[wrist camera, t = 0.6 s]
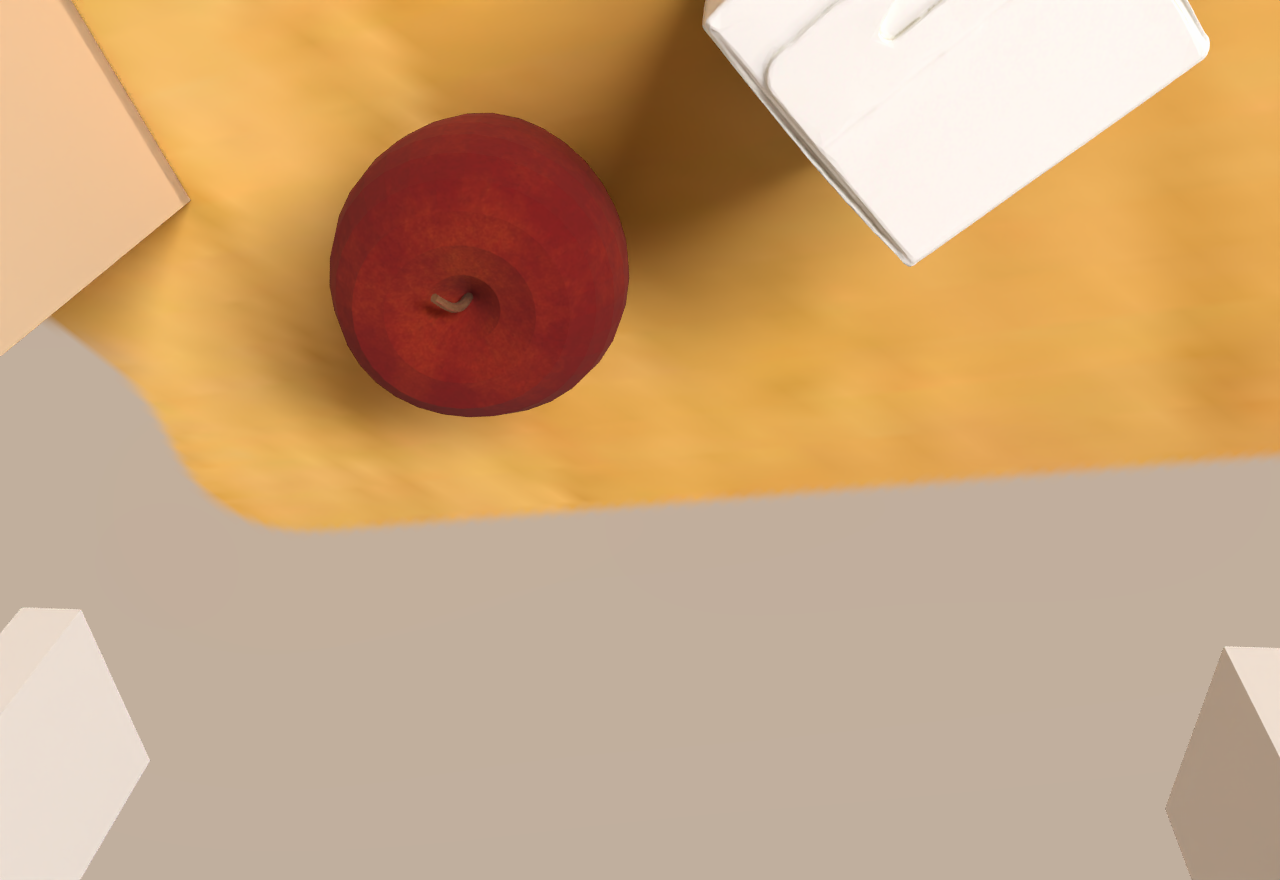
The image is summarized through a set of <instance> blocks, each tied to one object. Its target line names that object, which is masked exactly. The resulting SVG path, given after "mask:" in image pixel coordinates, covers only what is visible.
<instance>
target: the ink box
mask: <svg viewBox="0 0 1280 880" xmlns="http://www.w3.org/2000/svg"><path fill="white" fill-rule="evenodd" d="M702 27H703V29H704V30H705V31H706V33H707V34H708V35H709V36H710V37H711V39H712V40H713V41H714V42H715V43H716V45H717V46H718V47H719V49H720V50H721V51H722V52H723V54H724V55H725V56H726V58H727V59H728V60H729V62H730V63H731V64H732V65H733V67H734V68H735V69H736V70H737V72H738V73H739V74H740V75H741V77H742V78H743V79H744V80H745V82H746V83H747V84H748V86H749V87H750V88H751V89H752V91H753V92H754V93H755V94H756V95H757V97H758V98H759V99H760V100H761V101H762V103H763V104H764V105H765V106H766V108H767V109H768V110H769V111H770V113H771V114H772V115H773V116H774V118H775V119H776V120H777V121H778V123H779V124H780V125H781V126H782V127H783V129H784V130H785V131H786V132H787V134H788V135H789V136H790V137H791V138H792V140H793V141H794V142H795V143H796V144H797V146H798V147H799V148H800V149H801V150H802V152H803V153H804V154H805V155H806V157H807V158H808V159H809V160H810V161H811V162H812V164H813V165H814V166H815V167H816V168H817V170H818V171H819V172H820V173H821V174H822V175H823V177H824V178H825V179H826V180H827V181H828V182H829V183H830V184H831V185H832V186H833V188H834V189H835V190H836V191H837V192H838V193H839V195H840V196H841V197H842V198H843V199H844V200H845V202H846V203H847V204H848V205H849V206H850V207H851V208H852V209H853V210H854V211H855V212H856V213H857V214H858V215H859V216H860V218H861V219H862V220H863V221H864V222H865V223H866V224H867V225H868V226H869V227H870V228H871V229H872V231H873V232H874V233H875V234H876V235H877V236H878V237H879V238H880V239H881V240H882V241H883V242H884V243H885V244H886V245H887V246H888V247H889V248H890V249H891V250H892V251H893V252H894V253H895V254H896V255H897V256H898V257H899V258H900V259H901V261H902V262H903V263H904V264H905V265H907V266H910V267H911V266H913V265H915V264H916V263H917V262H919V261H920V260H922V259H923V258H925V257H926V256H927V255H929V254H930V253H932V252H933V251H935V250H936V249H937V248H939V247H940V246H942V245H943V244H944V243H946V242H947V241H949V240H950V239H951V238H953V237H954V236H956V235H957V234H958V233H960V232H961V231H963V230H964V229H965V228H967V227H968V226H970V225H971V224H972V223H974V222H975V221H977V220H978V219H980V218H981V217H982V216H984V215H985V214H987V213H988V212H989V211H991V210H992V209H994V208H995V207H996V206H998V205H999V204H1001V203H1002V202H1003V201H1005V200H1006V199H1008V198H1009V197H1010V196H1012V195H1013V194H1015V193H1016V192H1017V191H1019V190H1020V189H1022V188H1023V187H1024V186H1026V185H1027V184H1029V183H1030V182H1032V181H1033V180H1034V179H1036V178H1037V177H1039V176H1040V175H1042V174H1043V173H1044V172H1046V171H1047V170H1049V169H1050V168H1052V167H1053V166H1055V165H1056V164H1057V163H1059V162H1060V161H1062V160H1063V159H1064V158H1066V157H1067V156H1068V155H1070V154H1071V153H1073V152H1074V151H1075V150H1077V149H1078V148H1080V147H1081V146H1083V145H1084V144H1085V143H1087V142H1088V141H1090V140H1091V139H1093V138H1094V137H1095V136H1097V135H1098V134H1100V133H1101V132H1102V131H1104V130H1105V129H1106V128H1108V127H1109V126H1111V125H1112V124H1114V123H1115V122H1116V121H1118V120H1119V119H1121V118H1122V117H1123V116H1125V115H1126V114H1128V113H1129V112H1131V111H1132V110H1133V109H1135V108H1136V107H1138V106H1139V105H1140V104H1142V103H1143V102H1145V101H1146V100H1147V99H1149V98H1150V97H1152V96H1153V95H1154V94H1156V93H1157V92H1159V91H1160V90H1162V89H1163V88H1164V87H1166V86H1167V85H1168V84H1170V83H1171V82H1172V81H1174V80H1175V79H1176V78H1178V77H1179V76H1181V75H1182V74H1184V73H1185V72H1186V71H1188V70H1189V69H1190V68H1192V67H1193V66H1194V65H1196V64H1197V63H1199V62H1200V61H1202V60H1203V59H1204V58H1205V57H1206V55H1207V53H1208V51H1209V45H1210V42H1209V38H1208V36H1207V35H1206V33H1205V32H1204V30H1203V28H1202V26H1201V25H1200V23H1199V21H1198V19H1197V17H1196V15H1195V13H1194V11H1193V9H1192V7H1191V6H1190V4H1189V2H1188V0H705V6H704V15H703V25H702Z"/></svg>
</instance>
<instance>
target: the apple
mask: <svg viewBox="0 0 1280 880" xmlns="http://www.w3.org/2000/svg"><path fill="white" fill-rule="evenodd" d="M628 283H629V265H628V255H627V244H626V238H625V235H624V232H623V228H622V225H621V222H620V219H619V215H618V213H617V210H616V208H615V206H614V204H613V202H612V200H611V198H610V196H609V195H608V193H607V191H606V189H605V187H604V185H603V183H602V182H601V181H600V179H599V178H598V177H597V176H596V174H595V173H594V172H593V170H592V169H591V168H590V167H589V165H588V164H587V163H586V162H585V161H584V160H583V159H582V158H581V157H580V156H579V155H578V154H577V153H576V152H575V151H573V150H572V149H571V148H570V147H569V146H568V145H567V144H566V143H565V142H563V141H561V140H560V139H558V138H557V137H555V136H554V135H552V134H551V133H549V132H548V131H546V130H545V129H543V128H541V127H539V126H536V125H534V124H532V123H529V122H527V121H525V120H522V119H519V118H515V117H510V116H505V115H500V114H495V113H470V114H463V115H459V116H455V117H451V118H447V119H443V120H440V121H436V122H433V123H431V124H429V125H427V126H425V127H422V128H420V129H418V130H416V131H414V132H412V133H410V134H408V135H407V136H405V137H404V138H402V139H400V140H399V141H397V142H396V143H395V144H394V145H392V146H391V147H390V148H389V149H387V150H386V151H385V152H384V153H382V154H381V155H380V156H379V157H377V158H376V159H375V161H374V162H373V163H372V164H371V166H370V167H369V168H368V170H367V171H366V172H365V173H364V175H363V176H362V177H361V179H360V180H359V181H358V182H357V184H356V185H355V186H354V188H353V189H352V190H351V192H350V193H349V195H348V198H347V200H346V202H345V204H344V206H343V209H342V211H341V213H340V215H339V218H338V223H337V228H336V233H335V237H334V242H333V247H332V252H331V256H330V289H331V295H332V300H333V306H334V311H335V313H336V316H337V319H338V321H339V324H340V327H341V329H342V332H343V334H344V337H345V340H346V342H347V345H348V347H349V348H350V350H351V352H352V353H353V355H354V356H355V358H356V360H357V361H358V363H359V364H360V366H361V367H362V368H363V369H364V370H365V371H366V372H367V373H368V374H369V375H370V376H371V377H372V378H373V380H374V381H375V382H376V383H378V384H379V385H380V386H382V387H383V388H385V389H386V390H387V391H389V392H390V393H392V394H393V395H394V396H396V397H398V398H400V399H402V400H404V401H406V402H408V403H410V404H412V405H415V406H417V407H419V408H423V409H426V410H430V411H433V412H437V413H440V414H446V415H455V416H463V417H482V416H496V415H502V414H508V413H514V412H519V411H525V410H529V409H532V408H534V407H537V406H540V405H542V404H545V403H548V402H551V401H552V400H554V399H556V398H557V397H559V396H561V395H562V394H564V393H565V392H567V391H569V390H570V389H572V388H573V387H574V386H575V385H576V384H577V383H578V382H579V381H580V380H581V379H582V378H583V377H584V376H585V375H586V374H587V373H588V372H589V371H590V370H591V369H593V368H594V367H595V366H596V365H597V364H598V363H599V362H600V360H601V359H602V357H603V355H604V354H605V352H606V351H607V349H608V348H609V346H610V345H611V343H612V342H613V339H614V336H615V334H616V331H617V328H618V325H619V323H620V320H621V317H622V314H623V311H624V308H625V305H626V298H627V290H628Z"/></svg>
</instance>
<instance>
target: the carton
mask: <svg viewBox="0 0 1280 880" xmlns="http://www.w3.org/2000/svg"><path fill="white" fill-rule="evenodd" d="M189 201H190V198H189V197H188V195H187V193H186V192H185V190H184V188H183V187H182V185H181V183H180V182H179V180H178V178H177V177H176V175H175V173H174V172H173V170H172V168H171V167H170V165H169V163H168V162H167V160H166V158H165V157H164V155H163V153H162V152H161V150H160V148H159V147H158V145H157V143H156V142H155V140H154V138H153V137H152V135H151V133H150V132H149V130H148V128H147V127H146V125H145V123H144V121H143V120H142V118H141V116H140V115H139V113H138V111H137V110H136V108H135V106H134V105H133V103H132V101H131V100H130V98H129V96H128V95H127V93H126V91H125V90H124V88H123V86H122V85H121V83H120V81H119V80H118V78H117V76H116V75H115V73H114V71H113V70H112V68H111V66H110V65H109V63H108V61H107V60H106V58H105V56H104V55H103V53H102V51H101V50H100V48H99V46H98V45H97V43H96V41H95V39H94V38H93V36H92V34H91V33H90V31H89V29H88V28H87V26H86V24H85V23H84V21H83V19H82V18H81V16H80V14H79V13H78V11H77V9H76V8H75V6H74V4H73V3H72V1H71V0H0V356H2V355H3V354H4V353H5V352H7V351H8V350H9V349H10V348H11V347H13V346H14V345H15V344H16V343H18V342H19V341H20V340H21V339H22V338H24V337H25V336H26V335H27V334H28V333H30V332H31V331H32V330H33V329H35V328H36V327H37V326H38V325H39V324H41V323H42V322H43V321H44V320H46V319H47V318H48V317H49V316H50V315H52V314H53V313H54V312H55V311H56V310H58V309H59V308H60V307H61V306H63V305H64V304H65V303H66V302H67V301H69V300H70V299H71V298H72V297H74V296H75V295H76V294H77V293H78V292H80V291H81V290H82V289H83V288H84V287H86V286H87V285H88V284H89V283H91V282H92V281H93V280H94V279H95V278H97V277H98V276H99V275H100V274H102V273H103V272H104V271H105V270H106V269H108V268H109V267H110V266H111V265H112V264H114V263H115V262H116V261H117V260H119V259H120V258H121V257H122V256H123V255H125V254H126V253H127V252H128V251H130V250H131V249H132V248H133V247H134V246H136V245H137V244H138V243H139V242H140V241H142V240H143V239H144V238H145V237H147V236H148V235H149V234H150V233H151V232H153V231H154V230H155V229H156V228H158V227H159V226H160V225H161V224H162V223H164V222H165V221H166V220H167V219H168V218H170V217H171V216H172V215H173V214H175V213H176V212H177V211H178V210H179V209H181V208H182V207H183V206H184V205H186V204H187V203H188V202H189Z"/></svg>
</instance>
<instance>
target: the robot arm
mask: <svg viewBox="0 0 1280 880" xmlns="http://www.w3.org/2000/svg"><path fill="white" fill-rule="evenodd" d="M149 761H150V759H149V757H148V755H147V753H146V751H145V749H144V746H143V744H142V742H141V740H140V738H139V735H138V733H137V731H136V729H135V727H134V724H133V722H132V720H131V718H130V716H129V714H128V711H127V709H126V707H125V705H124V703H123V700H122V698H121V696H120V694H119V692H118V689H117V687H116V685H115V683H114V681H113V678H112V676H111V674H110V672H109V670H108V667H107V665H106V663H105V661H104V659H103V656H102V654H101V652H100V650H99V648H98V646H97V643H96V641H95V639H94V637H93V635H92V633H91V630H90V628H89V626H88V624H87V622H86V619H85V617H84V615H83V613H82V610H81V609H52V608H51V609H50V608H21V609H20V610H19V611H18V612H17V614H16V615H15V616H14V617H13V619H12V620H11V621H10V622H9V623H8V625H7V626H6V627H5V628H4V629H3V631H2V632H1V633H0V880H80V879H81V878H82V876H83V874H84V873H85V871H86V869H87V867H88V866H89V864H90V862H91V861H92V859H93V857H94V855H95V854H96V852H97V850H98V849H99V847H100V845H101V844H102V842H103V840H104V838H105V837H106V835H107V833H108V831H109V830H110V828H111V826H112V824H113V823H114V821H115V819H116V818H117V816H118V814H119V813H120V811H121V809H122V807H123V806H124V804H125V802H126V800H127V799H128V797H129V795H130V794H131V792H132V791H133V789H134V787H135V785H136V784H137V782H138V780H139V778H140V777H141V775H142V773H143V772H144V770H145V768H146V767H147V765H148V763H149ZM1165 810H1166V812H1167V815H1168V818H1169V820H1170V823H1171V826H1172V828H1173V831H1174V834H1175V836H1176V839H1177V841H1178V844H1179V847H1180V850H1181V852H1182V855H1183V858H1184V860H1185V863H1186V866H1187V868H1188V871H1189V874H1190V876H1191V879H1192V880H1280V648H1257V647H1226V646H1224V648H1223V650H1222V653H1221V656H1220V659H1219V662H1218V664H1217V667H1216V670H1215V673H1214V675H1213V678H1212V681H1211V684H1210V686H1209V689H1208V692H1207V695H1206V697H1205V700H1204V703H1203V706H1202V708H1201V711H1200V714H1199V717H1198V719H1197V722H1196V725H1195V728H1194V730H1193V733H1192V736H1191V739H1190V742H1189V744H1188V747H1187V750H1186V753H1185V755H1184V758H1183V761H1182V763H1181V766H1180V769H1179V772H1178V775H1177V777H1176V780H1175V783H1174V785H1173V788H1172V791H1171V794H1170V797H1169V799H1168V802H1167V805H1166V808H1165Z"/></svg>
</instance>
